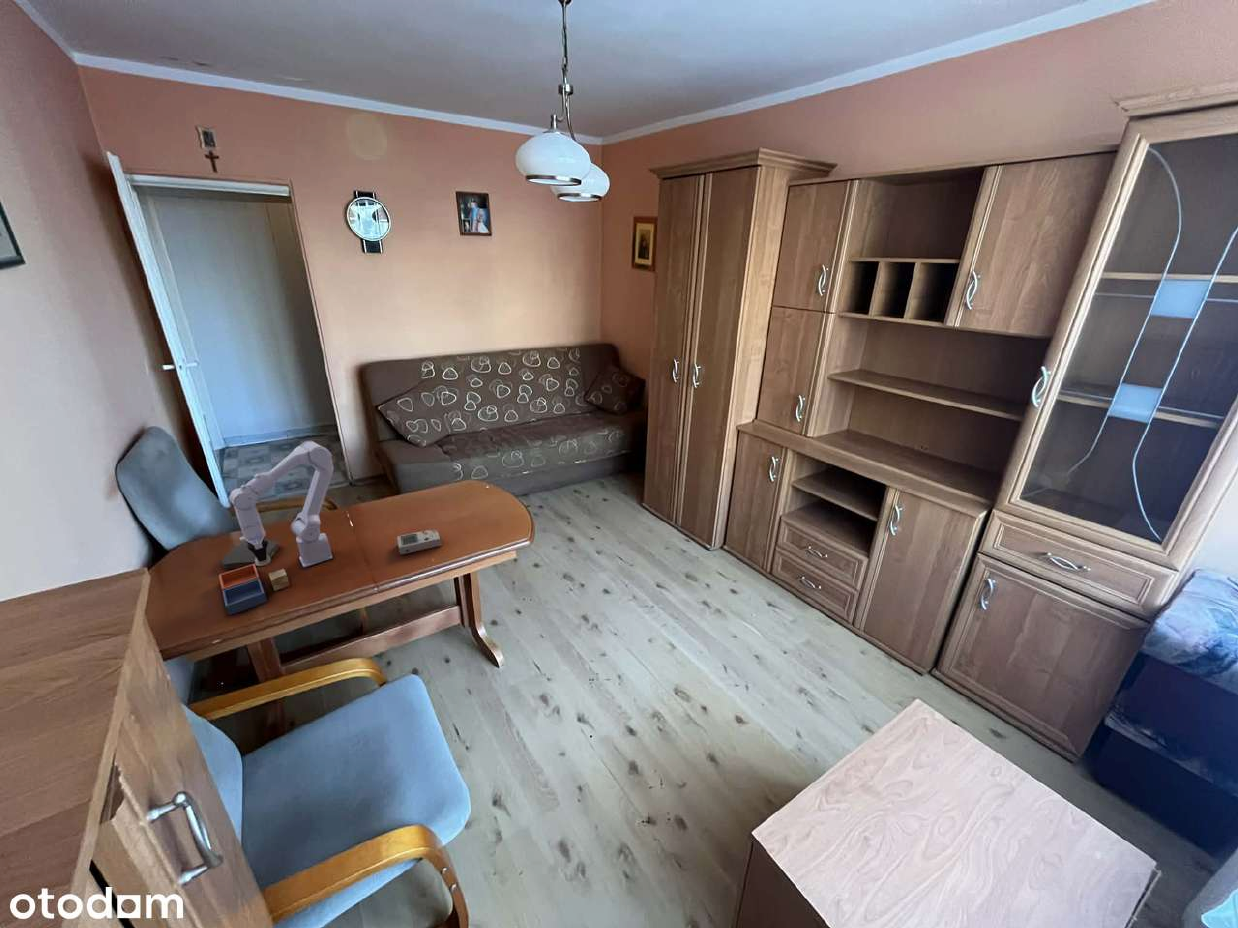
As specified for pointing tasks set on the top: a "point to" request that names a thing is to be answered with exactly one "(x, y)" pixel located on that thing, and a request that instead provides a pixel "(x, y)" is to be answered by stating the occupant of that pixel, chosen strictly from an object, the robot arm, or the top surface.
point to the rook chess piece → (262, 561)
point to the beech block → (279, 579)
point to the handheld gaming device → (418, 541)
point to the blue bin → (244, 596)
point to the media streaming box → (245, 555)
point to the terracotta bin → (238, 576)
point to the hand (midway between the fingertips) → (261, 557)
